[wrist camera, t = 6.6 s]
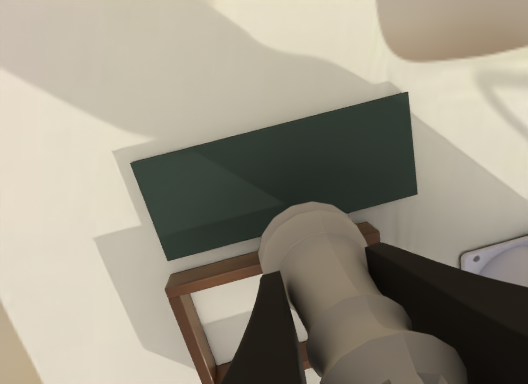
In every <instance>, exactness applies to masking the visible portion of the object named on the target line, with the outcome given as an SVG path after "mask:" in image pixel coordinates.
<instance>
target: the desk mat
mask: <svg viewBox="0 0 528 384" xmlns="http://www.w3.org/2000/svg"><path fill="white" fill-rule="evenodd" d="M130 164H131V167H132V169H133V172H134V175H135V177H136V180H137V182H138V185H139V188H140V190H141V193H142V195H143V198H144V201H145V203H146V206H147V208H148V211H149V214H150V216H151V219H152V221H153V224H154V227H155V229H156V232H157V234H158V237H159V240H160V242H161V245H162V248H163V250H164V253H165V255H166V258H167V261H170V260H174V259H178V258H181V257H185V256H189V255H193V254H196V253H200V252H204V251H208V250H211V249H215V248H219V247H223V246H226V245H230V244H234V243H237V242H241V241H245V240H249V239H252V238H256V237H260V236H262V234H263V233H264V231H265V230H266V228H267V227H268V226H269V224H270V223H271V221H272V220H273V218H274V217H276V216H277V215H279V214H280V213H282V212H283V211H285V210H286V209H288V208H290V207H291V206H294V205H299V204H303V203H308V202H318V203H324V204H330V205H333V206H335V207H336V208H338V209H339V210H341V211H342V212H344V213H345V214H346V213H350V212H353V211H357V210H361V209H365V208H368V207H372V206H376V205H379V204H383V203H387V202H391V201H394V200H398V199H402V198H406V197H409V196H413V195H417V194H418V193H417V183H416V172H415V161H414V150H413V140H412V129H411V118H410V107H409V97H408V92H404V93H400V94H396V95H392V96H388V97H385V98H381V99H377V100H373V101H369V102H365V103H361V104H357V105H353V106H349V107H346V108H342V109H338V110H334V111H330V112H326V113H322V114H318V115H314V116H310V117H306V118H303V119H299V120H295V121H291V122H287V123H283V124H279V125H275V126H271V127H267V128H264V129H260V130H256V131H252V132H248V133H244V134H240V135H236V136H232V137H228V138H225V139H221V140H217V141H213V142H209V143H205V144H201V145H197V146H193V147H189V148H185V149H182V150H178V151H174V152H170V153H166V154H162V155H158V156H154V157H150V158H146V159H143V160H139V161H135V162H132V163H130Z"/></svg>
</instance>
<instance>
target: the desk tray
mask: <svg viewBox="0 0 528 384" xmlns="http://www.w3.org/2000/svg"><path fill="white" fill-rule="evenodd" d="M356 226H357V227H358V229H359V230H360V232H361V234H362V235H363V237H364V239H365V240H366V243H367V246H370V245H374V244H378V243H381V242H380V234H379V231H378V230H377V229H375V228H374V227H373V226H372V225H370V224H369V223H368V222H365V223H362V224H358V225H356ZM258 252H259V251H257V252H254V253H250V254H246V255H243V256H239V257H235V258H231V259H228V260H224V261H220V262H217V263H213V264H209V265H205V266H202V267H198V268H194V269H191V270H187V271H183V272H179V273H176V274H172V275H170V278H169V280H168V283H167V285H166V287H165V292H166V294H167V297H168V299H169V302H170V305H171V307H172V310H173V312H174V315H175V317H176V320H177V322H178V325H179V327H180V330H181V332H182V335H183V337H184V340H185V342H186V345H187V347H188V350H189V352H190V355H191V357H192V360H193V362H194V365H195V367H196V370H197V372H198V375H199V377H200V380H201V382H202V384H220V382H221V380H222V379H223V377H224V375H225V373H226V371H227V369H228V367H229V366H230V364H231V363H227V364H224V365H220V366H216V364H215V361H214V358H213V356H212V353H211V350H210V348H209V345H208V342H207V340H206V337H205V334H204V332H203V329H202V326H201V323H200V321H199V318H198V315H197V313H196V310H195V307H194V305H193V302H192V299H191V297H190V294H189V293H193V292H196V291H200V290H204V289H207V288H211V287H215V286H219V285H222V284H226V283H230V282H233V281H237V280H241V279H244V278H248V277H252V276H255V275H259V274H263V272H262V268H261V264H260V259H259V255H258ZM306 343H307V341H306V342H302V343H299V344H300V349H301V354H302V360H303V366H304V370H306V369H309V368H312V367H311V365H310V364H309V362H308V357H307V351H306Z"/></svg>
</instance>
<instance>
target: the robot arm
mask: <svg viewBox="0 0 528 384" xmlns="http://www.w3.org/2000/svg"><path fill="white" fill-rule="evenodd" d="M365 253H366V260H367V266H368V272H369V274H370V276H371V278H372V280H373V281H374V283H375V285H376V287H377V288H378V290H379V292H380V293H381V294H382V295H383V296H386V297H388V298H389V299H391V300H393V301H394V302H396V303H398V304H399V305H401V306H402V307H403V308H404V310H405V312H406V313H407V315H408V316H409V318H410V320H411V324H412V331H413V332H418V333H423V334H428V335H433V336H434V337H436V338H438V339H439V340H441V341H443V342H445V343H446V344H448V345H450V346H451V347H453V348H455V350H456V351H457V353H458V355H459V357H460V358H461V360H462V362H463V364H464V365H465V367H466V369H467V380H468V384H528V236H525V237H521V238H518V239H514V240H511V241H507V242H503V243H500V244H496V245H492V246H489V247H485V248H482V249H478V250H474V251H471V252H467V253H465V254H463V255H462V257H461V269H458V268H455V267H451V266H448V265H445V264H442V263H439V262H436V261H433V260H431V259H428V258H425V257H422V256H419V255H417V254H414V253H411V252H408V251H405V250H403V249H400V248H397V247H394V246H391V245H388V244H385V243H378V244H374V245H370V246H367V247H365ZM474 257H475V258H474ZM220 384H307V382H306V377H305V371H304V366H303V360H302V354H301V349H300V344H299V341H298V337H297V333H296V329H295V325H294V321H293V318H292V314H291V310H290V306H289V302H288V299H287V295H286V291H285V287H284V283H283V280H282V276H281V273H280V270H279V271H275V272H272V273H268V274H264V275H262V277H261V278H260V285H259V290H258V294H257V298H256V302H255V305H254V308H253V311H252V314H251V317H250V320H249V323H248V325H247V328H246V330H245V333H244V335H243V338H242V340H241V343H240V345H239V347H238V349H237V351H236V353H235V356H234V358H233V360H232V362H231V364H230V366H229V367H228V369H227V371H226V373H225V375H224V377H223V379H222V380H221V382H220Z"/></svg>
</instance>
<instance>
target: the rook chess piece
mask: <svg viewBox="0 0 528 384" xmlns="http://www.w3.org/2000/svg"><path fill="white" fill-rule="evenodd" d="M365 247H367V243H366V240H365V239H364V237H363V235H362V234H361V232H360V230H359V229H358V227H357V226H356V224H354V223H353V222H352V221H351V219H350V217H349V216H348V215H347V214H345V213H344V212H342V211H341V210H339V209H338V208H336V207H335V206H333V205H330V204H324V203H318V202H308V203H303V204H299V205H294V206H291V207H290V208H288V209H286V210H285V211H283V212H282V213H280V214H279V215H277V216H276V217H274V218H273V220H272V221H271V223H270V224H269V226H268V227H267V228H266V230H265V231H264V233H263V234H262V238H261V242H260V247H259V252H258V255H259V259H260V264H261V268H262V272H263V273H264V274H268V273H272V272H275V271H279V270H280V273H281V276H282V280H283V283H284V287H285V291H286V295H287V299H288V302H289V306H290V308H291V309H293V310H295V311H296V312H297V314H298V316H299V318H300V319H301V321H302V323H303V325H304V327H305V329H306V331H307V334H308V339H307V343H306V351H307V357H308V362H309V364H310V365H311V367H312V368H313V369H314V370H315V372H316V373H317V374H318V375H319V377H321V378H322V379H321V381H320V384H468V380H467V369H466V367H465V365H464V364H463V362H462V360H461V358H460V357H459V355H458V353H457V351H456V350H455V348H453V347H451V346H450V345H448V344H446V343H445V342H443V341H441V340H439V339H438V338H436V337H434V336H433V335H428V334H423V333H418V332H413V331H412V324H411V320H410V318H409V316H408V315H407V313H406V312H405V310H404V308H403V307H402V306H401V305H399V304H398V303H396V302H394V301H393V300H391V299H389V298H388V297H386V296H383V295H382V294H381V293H380V292H379V290H378V288H377V287H376V285H375V283H374V281H373V280H372V278H371V276H370V274H369V272H368V266H367V260H366V253H365Z"/></svg>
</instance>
